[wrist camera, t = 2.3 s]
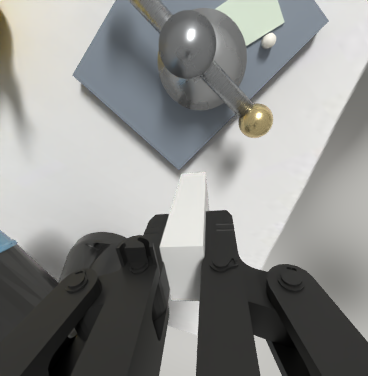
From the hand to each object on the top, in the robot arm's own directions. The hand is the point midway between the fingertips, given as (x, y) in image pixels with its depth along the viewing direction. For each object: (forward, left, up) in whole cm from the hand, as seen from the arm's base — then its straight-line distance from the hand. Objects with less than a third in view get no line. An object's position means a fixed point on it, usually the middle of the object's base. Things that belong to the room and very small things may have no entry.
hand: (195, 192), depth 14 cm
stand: (+6, +7, -18) cm, 20 cm away
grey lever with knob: (+6, +7, -16) cm, 18 cm away
